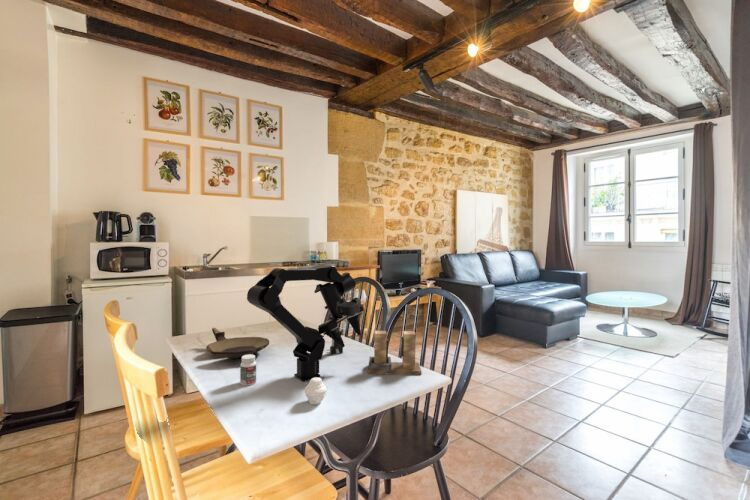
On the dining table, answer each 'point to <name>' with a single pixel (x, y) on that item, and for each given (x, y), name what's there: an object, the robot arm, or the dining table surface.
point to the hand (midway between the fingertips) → (351, 340)
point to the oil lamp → (235, 345)
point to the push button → (336, 346)
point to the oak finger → (380, 347)
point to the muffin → (315, 391)
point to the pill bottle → (248, 370)
